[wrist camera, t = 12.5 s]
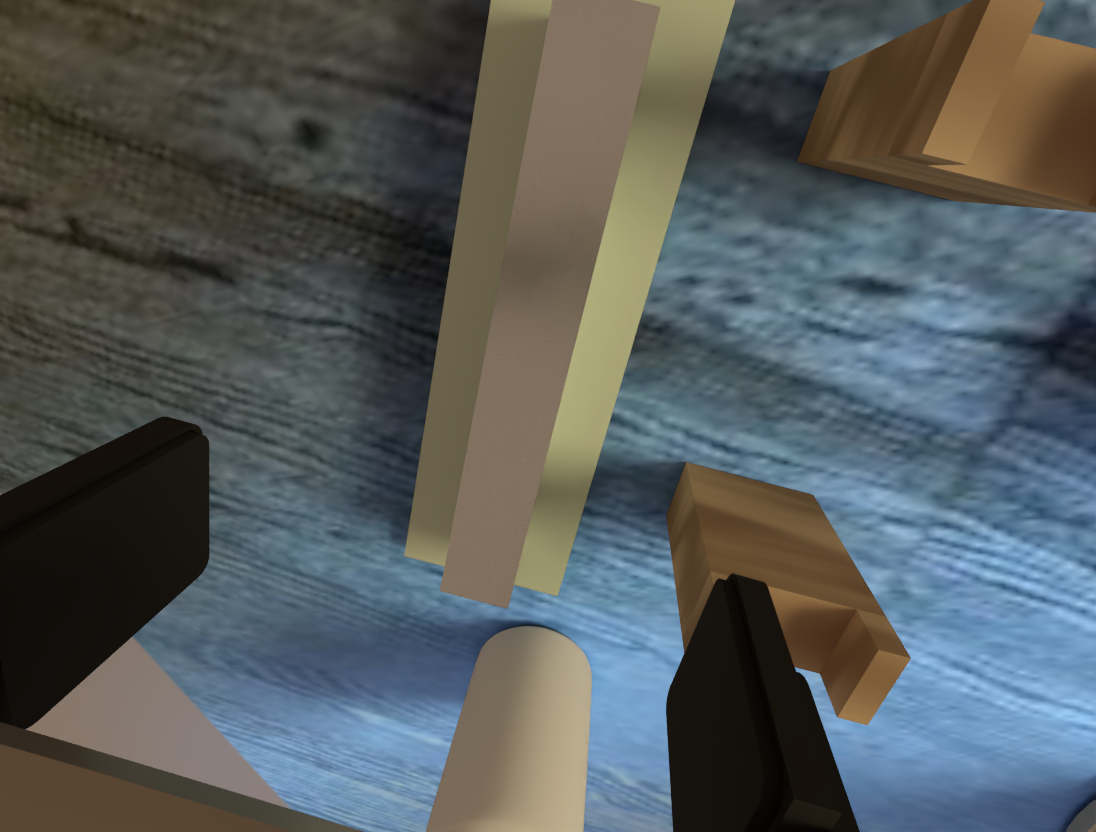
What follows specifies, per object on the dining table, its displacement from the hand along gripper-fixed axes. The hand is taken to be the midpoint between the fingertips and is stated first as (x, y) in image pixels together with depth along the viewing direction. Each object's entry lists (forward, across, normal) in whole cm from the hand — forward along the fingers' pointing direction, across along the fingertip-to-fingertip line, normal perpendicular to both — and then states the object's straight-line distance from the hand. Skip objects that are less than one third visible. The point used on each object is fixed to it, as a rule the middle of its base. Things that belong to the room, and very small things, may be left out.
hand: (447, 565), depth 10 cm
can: (+17, -3, +19) cm, 25 cm away
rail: (+15, +1, 0) cm, 15 cm away
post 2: (+16, -10, -10) cm, 22 cm away
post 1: (+16, -10, +6) cm, 20 cm away
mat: (+16, +1, 0) cm, 16 cm away
